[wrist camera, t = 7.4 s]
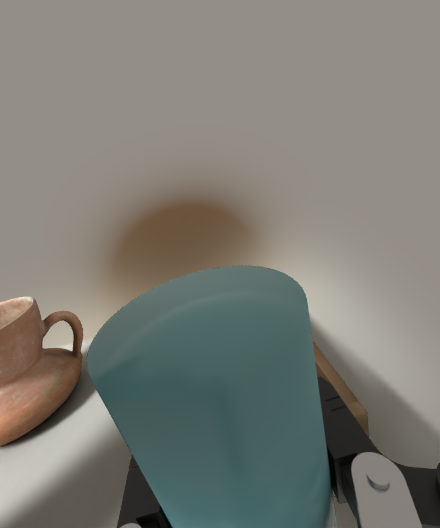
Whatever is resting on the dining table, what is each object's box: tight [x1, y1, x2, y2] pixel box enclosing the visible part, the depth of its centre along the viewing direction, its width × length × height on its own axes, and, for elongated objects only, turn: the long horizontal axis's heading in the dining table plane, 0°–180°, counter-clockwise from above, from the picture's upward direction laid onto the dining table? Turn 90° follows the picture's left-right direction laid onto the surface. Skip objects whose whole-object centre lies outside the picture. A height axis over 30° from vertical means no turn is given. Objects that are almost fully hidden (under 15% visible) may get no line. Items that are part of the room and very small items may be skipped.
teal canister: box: [86, 265, 337, 528], centre depth 9 cm, size 5×5×14 cm
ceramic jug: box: [0, 296, 83, 446], centre depth 32 cm, size 18×14×14 cm
